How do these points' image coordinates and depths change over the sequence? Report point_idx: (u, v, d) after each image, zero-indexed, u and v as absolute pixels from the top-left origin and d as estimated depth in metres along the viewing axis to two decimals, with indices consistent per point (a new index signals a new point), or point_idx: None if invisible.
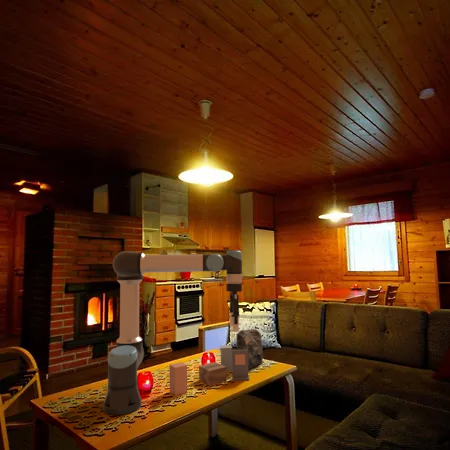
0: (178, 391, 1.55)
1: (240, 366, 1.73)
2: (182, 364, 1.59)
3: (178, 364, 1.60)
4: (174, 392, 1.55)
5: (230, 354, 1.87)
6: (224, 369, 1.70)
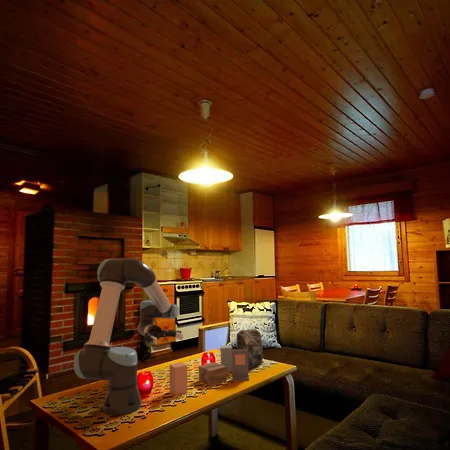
0: (178, 391, 1.55)
1: (240, 366, 1.73)
2: (182, 364, 1.59)
3: (178, 364, 1.60)
4: (174, 392, 1.55)
5: (230, 354, 1.87)
6: (224, 369, 1.70)
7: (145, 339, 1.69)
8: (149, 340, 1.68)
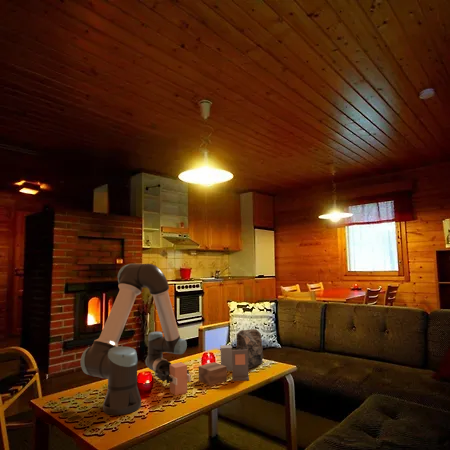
0: (178, 391, 1.55)
1: (240, 366, 1.73)
2: (182, 364, 1.59)
3: (178, 364, 1.60)
4: (174, 392, 1.55)
5: (230, 354, 1.87)
6: (225, 369, 1.71)
7: (164, 378, 1.57)
8: (168, 380, 1.56)
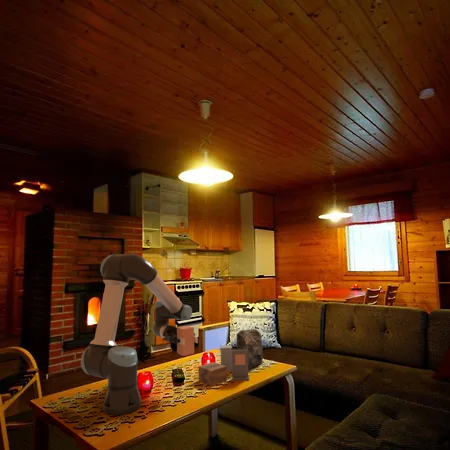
0: (185, 351, 1.60)
1: (240, 366, 1.73)
2: (189, 327, 1.64)
3: (185, 327, 1.65)
4: (181, 353, 1.60)
5: (230, 354, 1.87)
6: (225, 369, 1.71)
7: (172, 340, 1.62)
8: (176, 341, 1.61)
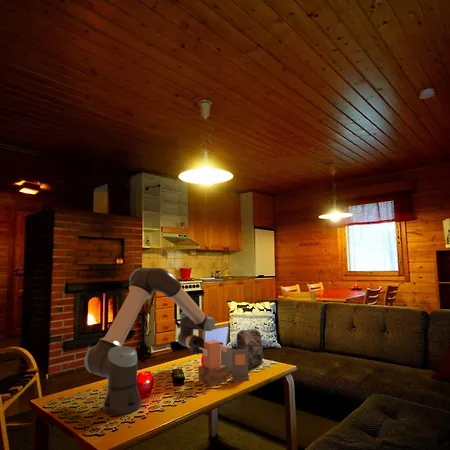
0: (212, 365, 1.69)
1: (240, 366, 1.73)
2: (215, 341, 1.74)
3: (211, 341, 1.74)
4: (209, 366, 1.69)
5: (230, 354, 1.87)
6: (225, 369, 1.71)
7: (194, 351, 1.71)
8: (198, 352, 1.70)
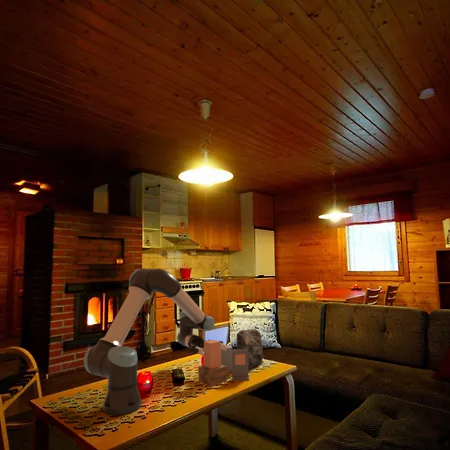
0: (213, 364, 1.69)
1: (240, 366, 1.73)
2: (215, 341, 1.74)
3: (212, 341, 1.74)
4: (209, 366, 1.69)
5: (230, 354, 1.87)
6: (225, 369, 1.71)
7: (190, 350, 1.72)
8: (194, 351, 1.71)
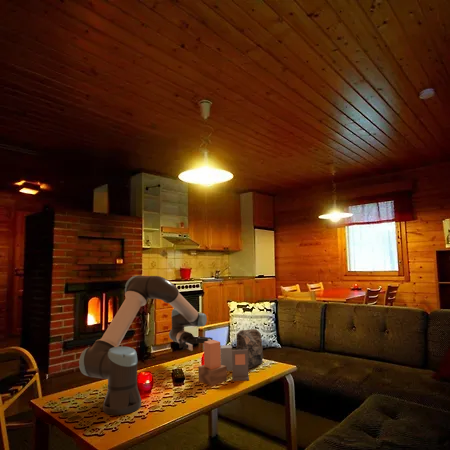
0: (212, 365, 1.69)
1: (240, 366, 1.73)
2: (216, 341, 1.74)
3: (212, 341, 1.74)
4: (209, 366, 1.69)
5: (230, 354, 1.87)
6: (225, 369, 1.71)
7: (180, 345, 1.81)
8: (184, 346, 1.80)
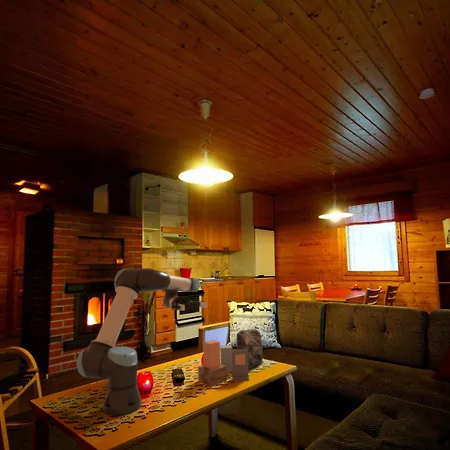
0: (212, 365, 1.69)
1: (240, 366, 1.73)
2: (215, 341, 1.74)
3: (211, 341, 1.74)
4: (209, 366, 1.69)
5: (230, 354, 1.87)
6: (225, 369, 1.72)
7: (173, 307, 1.85)
8: (177, 307, 1.84)
